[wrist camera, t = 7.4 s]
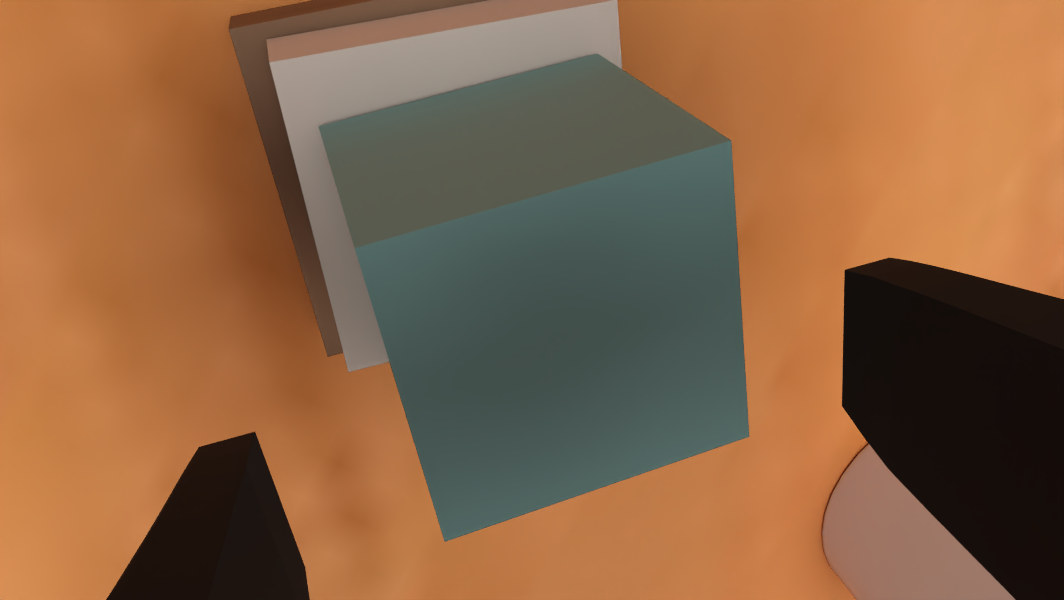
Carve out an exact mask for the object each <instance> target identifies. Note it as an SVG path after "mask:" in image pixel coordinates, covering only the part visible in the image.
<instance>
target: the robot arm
mask: <svg viewBox="0 0 1064 600" xmlns="http://www.w3.org/2000/svg"><path fill="white" fill-rule="evenodd" d="M842 406H843V408H844V409H845V411H846V412H847V414H848V415H849V416H850V418H851V419H852V421H853V422H854V424H855V425H856V426H857V428H858V429H859V431H860V432H861V434H862V435H863V436H864V438H865V439H866V441H867V442H868V443H869V445H870V446H871V447H872V449H873V450H874V451H875V452H876V454H877V455H878V456H879V458H880V459H881V460H882V462H883V463H884V464H885V466H886V467H887V468H888V469H889V470H890V471H891V472H892V473H893V475H894V476H895V477H896V478H897V479H898V480H899V481H900V482H901V483H902V484H903V485H904V486H905V487H906V488H907V489H908V490H909V491H910V492H911V494H912V495H913V496H914V497H915V498H916V499H917V500H918V501H919V502H920V503H921V504H922V505H923V506H924V507H925V508H926V509H927V510H928V511H929V512H930V513H931V514H932V515H933V516H934V517H935V518H936V519H937V520H938V521H939V522H940V523H941V524H942V525H943V526H944V527H945V529H946V530H947V531H948V532H949V533H950V534H951V535H952V536H953V537H954V538H955V539H956V540H957V541H958V542H959V543H960V544H961V545H962V546H963V547H964V548H965V549H966V550H967V551H968V552H969V553H970V554H971V555H972V556H973V557H974V558H975V559H976V560H977V561H978V562H979V563H980V564H981V565H982V566H983V567H984V568H985V569H986V570H987V571H988V572H989V573H990V574H991V575H992V576H993V577H994V578H995V579H996V580H997V581H998V582H999V583H1000V584H1001V585H1002V586H1003V587H1004V588H1005V589H1006V590H1007V591H1008V593H1009V594H1010V595H1011V596H1012V597H1013V598H1014V599H1015V600H1064V299H1060V298H1056V297H1052V296H1048V295H1045V294H1041V293H1037V292H1033V291H1029V290H1025V289H1022V288H1018V287H1014V286H1010V285H1006V284H1003V283H999V282H995V281H991V280H987V279H984V278H980V277H976V276H972V275H968V274H964V273H960V272H956V271H952V270H948V269H944V268H940V267H936V266H931V265H927V264H922V263H918V262H913V261H907V260H901V259H895V258H887V259H883V260H879V261H876V262H872V263H868V264H865V265H861V266H857V267H854V268H850V269H846V270H845V284H844V334H843V385H842ZM106 600H310V599H309V592H308V585H307V578H306V571H305V566H304V563H303V560H302V558H301V555H300V552H299V550H298V547H297V544H296V541H295V539H294V536H293V533H292V531H291V528H290V525H289V523H288V520H287V517H286V514H285V512H284V509H283V506H282V504H281V501H280V498H279V495H278V493H277V490H276V487H275V485H274V482H273V479H272V477H271V474H270V471H269V468H268V466H267V463H266V460H265V458H264V455H263V452H262V449H261V447H260V444H259V441H258V439H257V436H256V433H255V432H252V433H249V434H245V435H241V436H238V437H234V438H230V439H227V440H223V441H219V442H216V443H212V444H208V445H205V446H201V447H199V448H198V450H197V451H196V453H195V454H194V456H193V457H192V459H191V461H190V462H189V464H188V465H187V467H186V469H185V470H184V472H183V474H182V475H181V477H180V479H179V481H178V482H177V484H176V486H175V488H174V489H173V491H172V493H171V494H170V496H169V498H168V500H167V501H166V503H165V505H164V507H163V508H162V510H161V512H160V513H159V515H158V517H157V518H156V520H155V522H154V524H153V525H152V527H151V529H150V530H149V532H148V534H147V535H146V537H145V539H144V540H143V542H142V544H141V545H140V547H139V548H138V550H137V552H136V553H135V555H134V556H133V558H132V560H131V561H130V563H129V564H128V566H127V568H126V569H125V571H124V572H123V574H122V576H121V577H120V579H119V580H118V582H117V584H116V585H115V587H114V588H113V590H112V592H111V593H110V595H109V596H108V598H107V599H106Z"/></svg>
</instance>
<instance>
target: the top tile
mask: <svg viewBox="0 0 1064 600" xmlns="http://www.w3.org/2000/svg"><path fill="white" fill-rule="evenodd" d="M266 41H267V49H268V57H269V64H270V68H271V71H272V75H273V79H274V83H275V87H276V91H277V95H278V99H279V103H280V107H281V111H282V114H283V118H284V122H285V126H286V130H287V134H288V138H289V142H290V146H291V150H292V153H293V157H294V161H295V165H296V169H297V173H298V177H299V181H300V185H301V189H302V193H303V196H304V200H305V204H306V208H307V212H308V216H309V220H310V224H311V228H312V232H313V235H314V239H315V243H316V247H317V251H318V255H319V259H320V263H321V267H322V271H323V275H324V278H325V282H326V286H327V290H328V294H329V298H330V302H331V306H332V310H333V314H334V317H335V321H336V325H337V329H338V333H339V337H340V341H341V345H342V349H343V353H344V357H345V360H346V364H347V368H348V372H351V371H355V370H359V369H363V368H367V367H371V366H375V365H379V364H383V363H387V362H389V359H388V355H387V352H386V349H385V346H384V342H383V339H382V336H381V333H380V329H379V326H378V323H377V320H376V316H375V313H374V310H373V307H372V303H371V300H370V297H369V294H368V290H367V287H366V284H365V280H364V277H363V274H362V271H361V267H360V264H359V261H358V258H357V254H356V251H355V248H354V245H353V241H352V238H351V234H350V231H349V228H348V224H347V221H346V218H345V214H344V211H343V208H342V204H341V201H340V197H339V194H338V191H337V187H336V184H335V181H334V177H333V174H332V170H331V167H330V164H329V160H328V157H327V154H326V150H325V147H324V144H323V140H322V137H321V133H320V130H319V127H318V126H322V125H326V124H330V123H334V122H337V121H341V120H345V119H349V118H353V117H357V116H360V115H364V114H368V113H372V112H376V111H380V110H383V109H387V108H391V107H395V106H399V105H402V104H406V103H410V102H414V101H418V100H422V99H425V98H429V97H433V96H437V95H441V94H445V93H448V92H452V91H456V90H460V89H464V88H468V87H471V86H475V85H479V84H483V83H487V82H491V81H494V80H498V79H502V78H506V77H510V76H513V75H517V74H521V73H525V72H529V71H533V70H536V69H540V68H544V67H548V66H552V65H556V64H559V63H563V62H567V61H571V60H575V59H579V58H582V57H586V56H590V55H594V54H599V55H601V56H602V57H604V58H605V59H607V60H608V61H610V62H611V63H613V64H614V65H616V66H618V67H619V68H621V69H622V60H621V45H620V31H619V17H618V3H617V0H487V1H482V2H476V3H470V4H464V5H459V6H453V7H447V8H442V9H436V10H430V11H425V12H419V13H413V14H408V15H402V16H396V17H391V18H385V19H379V20H373V21H368V22H362V23H356V24H351V25H345V26H339V27H334V28H328V29H322V30H317V31H311V32H305V33H299V34H294V35H288V36H282V37H277V38H271V39H266Z"/></svg>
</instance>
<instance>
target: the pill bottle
mask: <svg viewBox="0 0 1064 600" xmlns="http://www.w3.org/2000/svg"><path fill="white" fill-rule="evenodd" d="M822 539H823V549H824V553H825V556H826V558H827V561H828V563H829V566H830V567H831V568H832V570H833V571H834V572H835V573H836V575H837V576H838V577H839V579H840V580H841V581H842V582H843V584H844V585H845V586H846V587H847V589H848V590H849V591H850V592H851V594H852V595H853V596H854V598H855V599H856V600H1015V599H1014V598H1013V597H1012V596H1011V595H1010V594H1009V593H1008V591H1007V590H1006V589H1005V588H1004V587H1003V586H1002V585H1001V584H1000V583H999V582H998V581H997V580H996V579H995V578H994V577H993V576H992V575H991V574H990V573H989V572H988V571H987V570H986V569H985V568H984V567H983V566H982V565H981V564H980V563H979V562H978V561H977V560H976V559H975V558H974V557H973V556H972V555H971V554H970V553H969V552H968V551H967V550H966V549H965V548H964V547H963V546H962V545H961V544H960V543H959V542H958V541H957V540H956V539H955V538H954V537H953V536H952V535H951V534H950V533H949V532H948V531H947V530H946V529H945V527H944V526H943V525H942V524H941V523H940V522H939V521H938V520H937V519H936V518H935V517H934V516H933V515H932V514H931V513H930V512H929V511H928V510H927V509H926V508H925V507H924V506H923V505H922V504H921V503H920V502H919V501H918V500H917V499H916V498H915V497H914V496H913V495H912V494H911V492H910V491H909V490H908V489H907V488H906V487H905V486H904V485H903V484H902V483H901V482H900V481H899V480H898V479H897V478H896V477H895V476H894V475H893V473H892V472H891V471H890V470H889V469H888V468H887V467H886V466H885V464H884V463H883V462H882V460H881V459H880V458H879V456H878V455H877V454H876V452H875V451H874V450H873V449H872V447H871V446H870V445H869V444H868V445H867V446H866V447H865V448H864V449H863V450H862V451H861V452H860V453H859V454H858V455H857V456H856V458H855V459H854V460H853V462H852V463H851V464H850V465H849V467H848V468H847V469H846V471H845V472H844V473H843V475H842V477H841V479H840V480H839V482H838V484H837V486H836V488H835V489H834V491H833V493H832V495H831V498H830V501H829V503H828V506H827V509H826V512H825V515H824V523H823V530H822Z"/></svg>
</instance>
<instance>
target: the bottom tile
mask: <svg viewBox="0 0 1064 600" xmlns="http://www.w3.org/2000/svg"><path fill="white" fill-rule="evenodd" d="M482 1H487V0H312V1H307V2H302V3H297V4H292V5H287V6H282V7H277V8H272V9H267V10H262V11H257V12H252V13H247V14H242V15H237V16H232V17H231V19H230V25H229V32H230V35H231V38H232V41H233V45H234V48H235V51H236V55H237V58H238V61H239V65H240V68H241V71H242V75H243V78H244V81H245V84H246V88H247V91H248V94H249V98H250V101H251V104H252V108H253V111H254V114H255V117H256V121H257V124H258V127H259V131H260V134H261V137H262V141H263V144H264V147H265V151H266V154H267V157H268V160H269V164H270V167H271V170H272V174H273V177H274V180H275V184H276V187H277V190H278V194H279V197H280V200H281V203H282V207H283V210H284V213H285V217H286V220H287V223H288V227H289V230H290V233H291V237H292V240H293V243H294V246H295V250H296V253H297V256H298V260H299V263H300V266H301V270H302V273H303V276H304V280H305V283H306V286H307V289H308V293H309V296H310V299H311V303H312V306H313V309H314V313H315V316H316V319H317V323H318V326H319V329H320V332H321V336H322V339H323V342H324V346H325V349H326V352H327V356H332V355H336V354H340V353H343V349H342V345H341V341H340V337H339V333H338V329H337V325H336V321H335V317H334V314H333V310H332V306H331V302H330V298H329V294H328V290H327V286H326V282H325V278H324V275H323V271H322V267H321V263H320V259H319V255H318V251H317V247H316V243H315V239H314V235H313V232H312V228H311V224H310V220H309V216H308V212H307V208H306V204H305V200H304V196H303V193H302V189H301V185H300V181H299V177H298V173H297V169H296V165H295V161H294V157H293V153H292V150H291V146H290V142H289V138H288V134H287V130H286V126H285V122H284V118H283V114H282V111H281V107H280V103H279V99H278V95H277V91H276V87H275V83H274V79H273V75H272V71H271V68H270V64H269V57H268V49H267V41H266V39H271V38H277V37H282V36H288V35H294V34H299V33H305V32H311V31H317V30H322V29H328V28H334V27H339V26H345V25H351V24H356V23H362V22H368V21H373V20H379V19H385V18H391V17H396V16H402V15H408V14H413V13H419V12H425V11H430V10H436V9H442V8H447V7H453V6H459V5H464V4H470V3H476V2H482Z"/></svg>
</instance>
